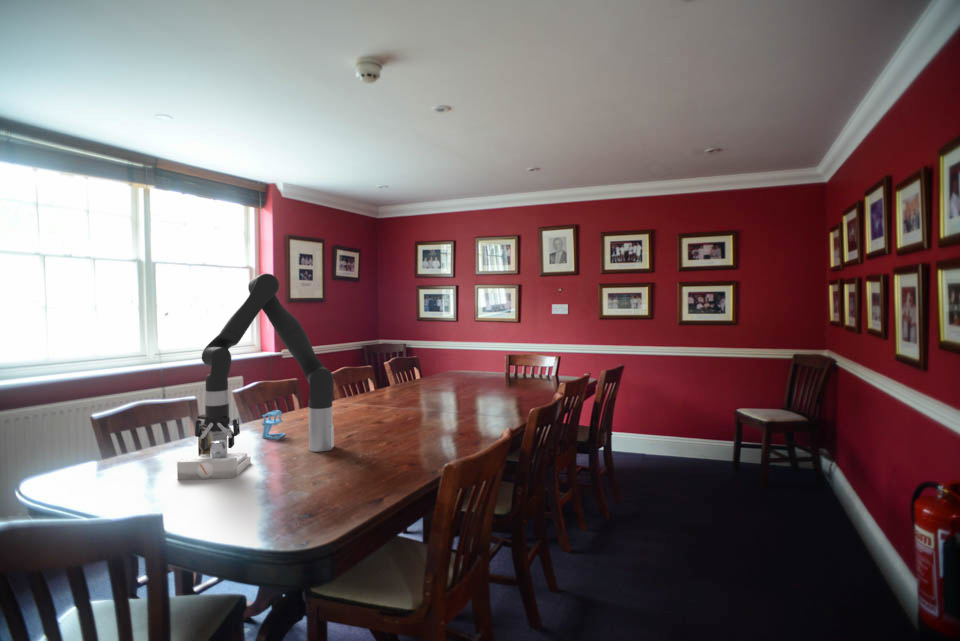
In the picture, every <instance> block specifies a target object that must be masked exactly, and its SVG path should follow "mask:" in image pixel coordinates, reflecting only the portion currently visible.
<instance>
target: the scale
mask: <svg viewBox="0 0 960 641" xmlns="http://www.w3.org/2000/svg"><path fill="white" fill-rule="evenodd" d="M251 461H252V459H251V456H250V455H249V456H248V455H247V457H246V458H245V459H244V460H242V461H241V462H240V463H239V464H238V465H237V458H213V459H195V458H190V459H189V458H187V459H184V458H181V459H180V460H178V461H176V465H177V466H176V468H177V470H176V472H177V475H176V476H177V481H186V480H187V481H189V480H213V479H214V480H216V479H217V480H218V479H235V477H237V476H238V475H239V474H240V473H241V472H242V471H244V470H245V469H246V468H247V467H248V466H249V465H250V464H251Z"/></svg>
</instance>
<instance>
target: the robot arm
mask: <svg viewBox="0 0 960 641" xmlns="http://www.w3.org/2000/svg"><path fill="white" fill-rule="evenodd" d="M279 282H280V281H279V280H278V278H277V277H276V276H275V275H274V274H271V273H261V274H259V275H257V276H255V277H253V278H252V279H251V280H249V283H248V287H247V288H248V292H249V295H248V297H247V298H246V300H244V302H243V304H242V305H241V306H240V307H239V308H238V309H237V310H236V311H235V313H233V315H232V316H231V317H230V318H229V320H227V322H226V324H225V325H224V327H223V328H222V329H221V331H220V333H219V334H218V335H216V337H214V338H213V339H212V340H211V341H210V342H209V343H208V344H207V345H206V346H205V348H204V349H203V351H202V353H201V361H202V363H203V364H204V365H206V366H209V367H211V369H210V373H209V374H207V375H206V377H205V395H204V405H205V406H204V407H205V408H204V411H205V412H204V413H205V417H206V419H205V420H202V419H198V418H197V420H196V421H195V426H194V427H195V429H194V430H195V431H194V436H195V437H196V438H198V437H200V438H201V446H202V447H203V449H206V448H208V437H207V435H208V434H209V433H210V432H211V431H212V432H215V431H218V432H221V431H223V432H224V433H225V434H227V449H232V448H233V447H234V446H235V437H237V436H239V435H240V433H241V429H240V418H239V417H236V418H230V394H229V378H228V377H229V374H230V372H231V371H230V370H231V364H232V354H231V352H230V350H229V349H230V348H231V347H234V346H236V345H238V344H239V343H240V341H241V339H242V338H243V337H244V335H245V334H246V332H247V330H248V329H249V328H250V326H251V324H252V323H253V321H254V320H255V318H256V317H257V316H258V314H259V312H260V311H261V310H262V311H263V312H264V314H265V315H266V317H267V319H268V320H269V322H270V324H271V325H272V327H273V329H274V330H275V332H276V333H277V335H278V337H279V338H280V340H281V342H282V343H283V345H284V346H285V348H286V350H288V352H289V353H290V354H291V355H292V357H293V358H294V360H296V362H297V363H298V365H299V366H300V368H301V370H302V372H303V374H304V376H305V378H306V380H307V383H308V385H309V399H308V450H309V452H315V453H316V452H325V451H332V450H333V448H334V447H335V435H334V434H335V432H334V431H335V430H334V429H335V427H334V426H335V424H334V423H333V401H334V394H335V393H334V392H335V391H334V390H335V388H334V385H335V382H334V376H333V375H334V374H333V373H332V372H331V371H330V369H328V368H326V367H325V366H324V364H323V363H322V362H321V360H320V359H319V357H317V355H316V353H315V351H314V349H313V346H312V343H311V341H310V339H309V337H308V335H307V333H306V331H305V329H304V327H303V326H302V324H301V322H299V320H298V319H297V318H296V317H295V316H294V315H293V314H292V313H290V311H289V310H287V309H286V308H285V306H283V304H282V303H281V302H280V300H279V299H278V297H277V295H276V294H277V293H278V291H279V289H280V283H279ZM204 423H205V425H206V426H207V428H206V429H205V431H204V433H202V425H203V424H204ZM230 424H231V426H232V427H233V428H231V427H230ZM232 429H233V430H232Z"/></svg>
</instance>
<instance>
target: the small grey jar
mask: <svg viewBox="0 0 960 641" xmlns="http://www.w3.org/2000/svg"><path fill="white" fill-rule="evenodd" d="M210 454H211V459H213V458H226V440H215V441H212V442H210Z"/></svg>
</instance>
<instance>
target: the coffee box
mask: <svg viewBox="0 0 960 641" xmlns="http://www.w3.org/2000/svg"><path fill="white" fill-rule="evenodd" d="M198 419H202V420H205V419H206V417H205V414H200V415H197V420H198ZM206 428H207V426H206V425H205V423H204V424H203V425H202V433H204V431H205V429H206ZM207 437H208V448H206V449H203V447H202V446H201V438H200V437H197V442H198V443H197V445H198V450H197V451H198V456H200V455H201V454H210V442H212V441H215V440H226V454H228V436H227V434H225V433H224V432H223V431H221V432H218V431H215V432H212V431H211V432H210V433H209V434H208V435H207ZM198 456H197V457H198Z"/></svg>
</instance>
